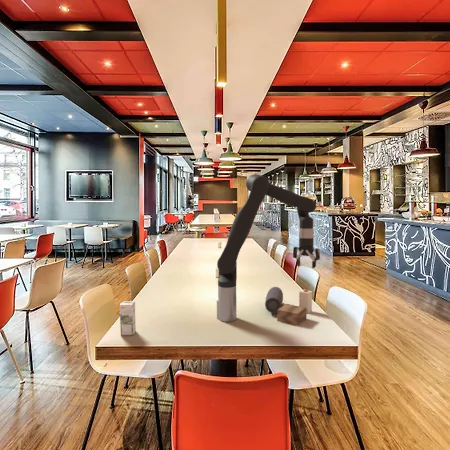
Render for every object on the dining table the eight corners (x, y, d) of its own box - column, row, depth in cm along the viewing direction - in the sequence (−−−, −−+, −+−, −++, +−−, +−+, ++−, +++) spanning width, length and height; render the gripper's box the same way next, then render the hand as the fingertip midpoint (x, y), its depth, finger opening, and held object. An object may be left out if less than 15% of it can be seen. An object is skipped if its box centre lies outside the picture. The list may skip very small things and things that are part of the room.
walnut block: (277, 321, 172) (277, 309, 172) (286, 315, 181) (286, 304, 181) (298, 325, 166) (298, 313, 165) (306, 319, 175) (306, 307, 174)
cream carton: (299, 311, 186) (299, 289, 185) (303, 309, 190) (303, 287, 189) (307, 313, 183) (308, 291, 182) (311, 311, 187) (312, 289, 186)
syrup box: (136, 330, 161) (135, 300, 160) (133, 335, 155) (132, 304, 154) (123, 331, 161) (122, 300, 160) (120, 336, 155) (119, 304, 154)
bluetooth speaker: (282, 316, 179) (282, 297, 179) (264, 314, 181) (264, 296, 181) (283, 302, 202) (283, 286, 201) (267, 302, 204) (267, 285, 203)
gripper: (290, 236, 184) (290, 266, 185) (316, 238, 175) (315, 269, 177) (297, 235, 190) (297, 264, 191) (322, 236, 181) (321, 267, 183)
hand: (306, 267), depth 184 cm, fingers open, 8 cm apart
